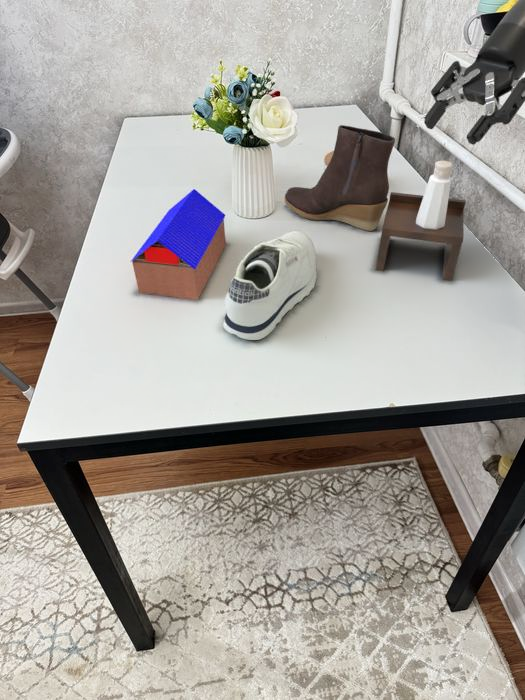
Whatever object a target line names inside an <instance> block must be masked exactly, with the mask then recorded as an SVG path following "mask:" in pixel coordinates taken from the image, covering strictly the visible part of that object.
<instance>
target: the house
mask: <svg viewBox="0 0 525 700" xmlns="http://www.w3.org/2000/svg"><path fill="white" fill-rule="evenodd" d="M225 219H226V214H225V213H224V212H223V211H221V210H220V209H219V208H218V207H217V206H215V205H214V204H213V203H212V202H210V200H209V199H207V198H206V197H205V196H204V195H202V194H201V193H200V192H199V191H198V190H196V188H193V189H192V190H190V191H189V192H188V193H187V194H186V195H185V196H183V198H181V199H180V200H179V201H178V202H177V203H176V204H174V205H173V206H172V207H171V208H170V209H168V211H167V212H166V214H165V215H163V218H162V219H161V220H160V222H158V224H157V226H156V227H155V228H154V229H153V231H152V232H151V233H150V235H149V236H148V237H147V239H146V240H145V241H144V243H143V244H142V245H141V246H140V248H139V250H138V251H137V252H136V253H135V254H134V256H133V257H132V259H131V260H130V262H131V263H132V267H133V271H134V276H135V280H136V285H137V289H138V293H139V294H146V295H155V296H163V297H171V298H179V299H191V300H197V301H198V300H199V298H200V296H201V294H202V293H203V291H204V288H206V285H207V283H208V282H209V279H210V277H211V275H212V273H213V272H214V269H215V267H216V265H217V263H218V261H219V259H220V257H221V255H222V253H223V251H224V249H225V247H226V245H227V243H226V230H225Z"/></svg>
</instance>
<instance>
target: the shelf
mask: <svg viewBox="0 0 525 700" xmlns="http://www.w3.org/2000/svg"><path fill="white" fill-rule="evenodd" d="M423 196H424V195H420V194H414V193H413V194H412V193H403V192H402V193H401V192H393V191H391V192H390V193H389V198H388V203H387V208H386V212H385V216H384V221H383V223H382V228H381V235H380V239H379V247H378V252H377V259H376V265H375V271H379V272H380V271H381V272H384V269H385V265H386V260H387V256H388V253H389V247H390V242H391V238H401V239H407V240H416V241H422V242H431V243H437V244H439V243H440V244H445V245H444V251H443V252H444V253H443V266H442V267H443V268H442V280H443V281H447V282H452V279H453V276H454V272H455V269H456V266H457V262H458V259H459V255H460V252H461V250H462V245H463V242H464V238H465V237H464V235H465V234H464V229H465V228H464V225H465V224H464V222H465V220H464V219H465V218H464V213H465V212H464V210H465V207H466V203H467V202H466V201H467V200H466V199H456V198H450V197H449V198H448V205H447V212H446V219H445V225H444V227H443V228H440V229H436V230H432V229H424V228H422V227H420V226H419V225H417V224H416V218H417V215H418V212H419V208H420V205H421V202H422V199H423Z"/></svg>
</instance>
